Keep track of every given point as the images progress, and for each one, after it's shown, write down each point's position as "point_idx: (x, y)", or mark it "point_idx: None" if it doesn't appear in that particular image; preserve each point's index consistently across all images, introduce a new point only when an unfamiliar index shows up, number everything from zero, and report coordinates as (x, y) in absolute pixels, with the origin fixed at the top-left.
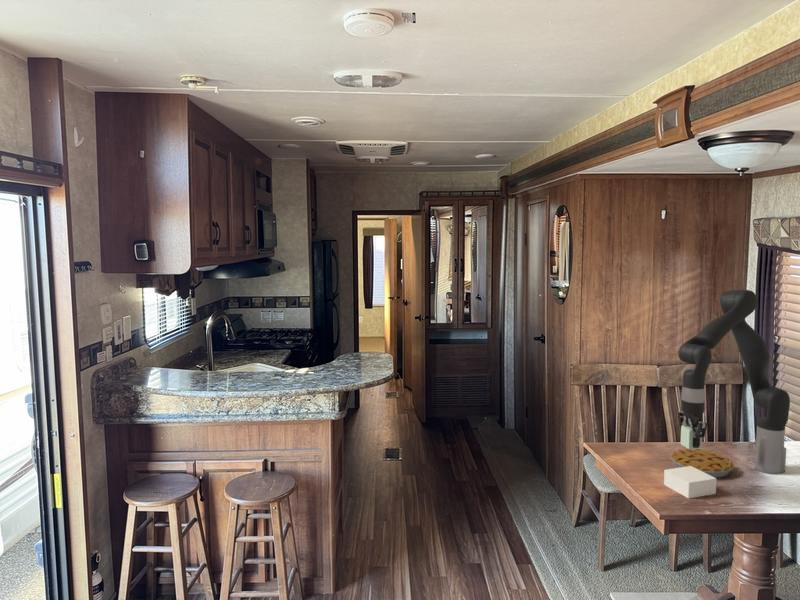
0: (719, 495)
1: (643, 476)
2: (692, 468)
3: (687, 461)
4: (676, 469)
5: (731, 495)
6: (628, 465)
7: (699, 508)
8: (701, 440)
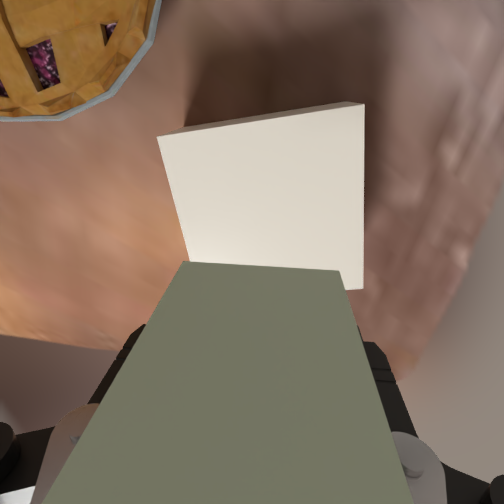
0: (367, 95)
1: (138, 291)
2: (195, 153)
3: (24, 56)
4: (201, 247)
5: (388, 22)
6: (35, 287)
7: (434, 265)
8: (355, 342)
